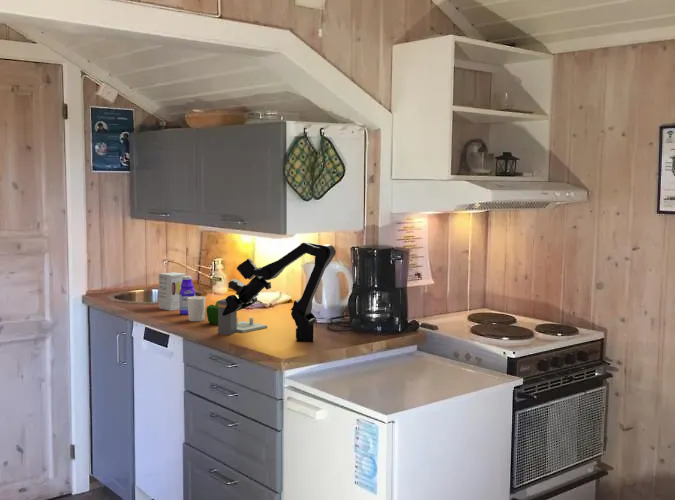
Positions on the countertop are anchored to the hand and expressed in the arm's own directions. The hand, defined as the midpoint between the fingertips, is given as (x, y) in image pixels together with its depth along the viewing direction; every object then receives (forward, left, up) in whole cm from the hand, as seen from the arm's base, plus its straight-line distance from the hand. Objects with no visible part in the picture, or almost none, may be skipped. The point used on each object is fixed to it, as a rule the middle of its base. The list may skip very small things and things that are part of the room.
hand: (228, 313), depth 300 cm
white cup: (+18, -26, -8) cm, 32 cm away
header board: (-5, -11, -8) cm, 14 cm away
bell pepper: (+8, -19, -8) cm, 22 cm away
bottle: (+25, -40, -8) cm, 48 cm away
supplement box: (+35, -53, -8) cm, 64 cm away
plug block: (0, 0, -8) cm, 8 cm away
